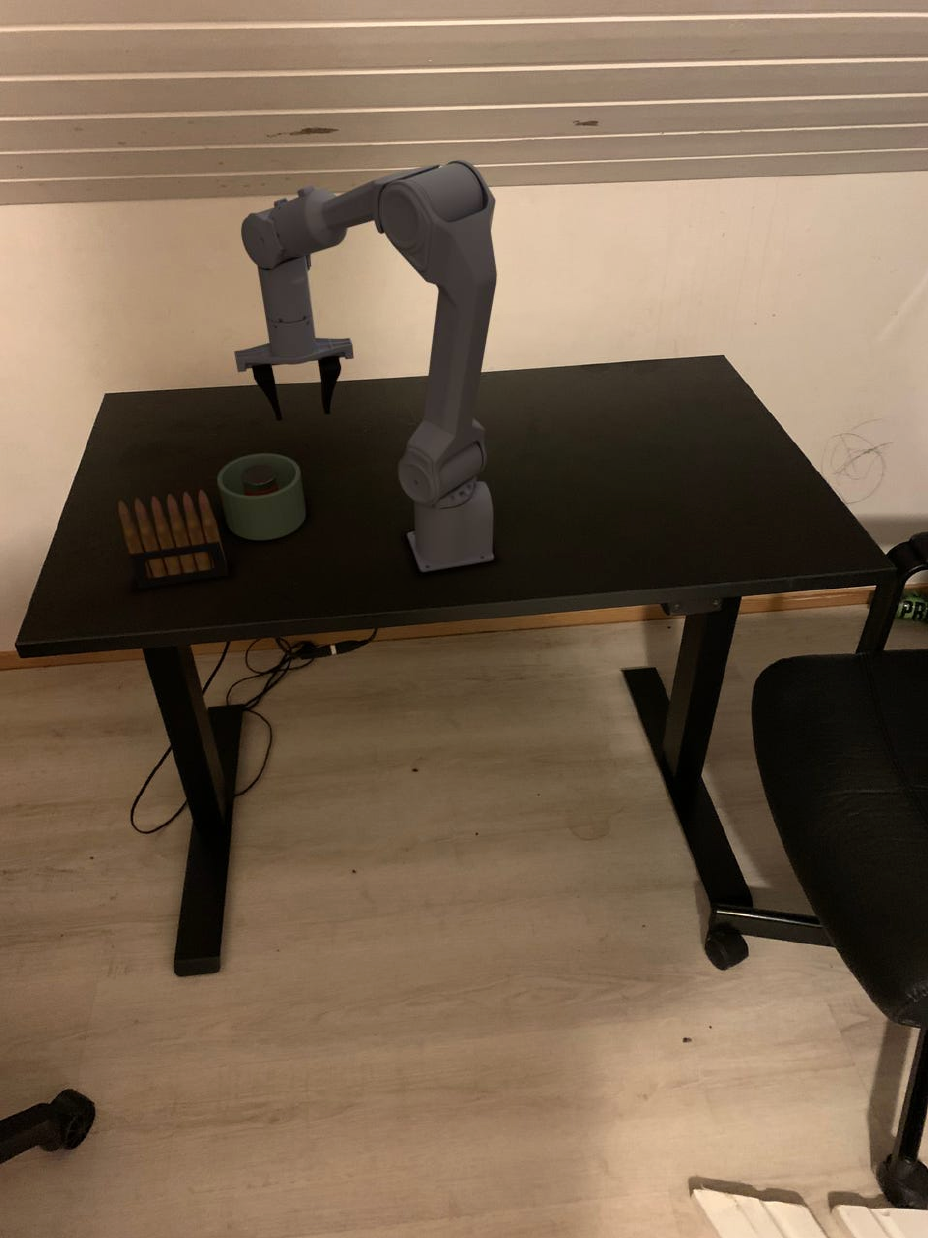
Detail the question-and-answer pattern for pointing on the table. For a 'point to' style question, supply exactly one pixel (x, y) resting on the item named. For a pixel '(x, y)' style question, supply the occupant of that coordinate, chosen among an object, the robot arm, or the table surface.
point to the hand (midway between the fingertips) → (302, 413)
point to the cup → (262, 499)
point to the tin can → (259, 480)
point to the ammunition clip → (173, 543)
